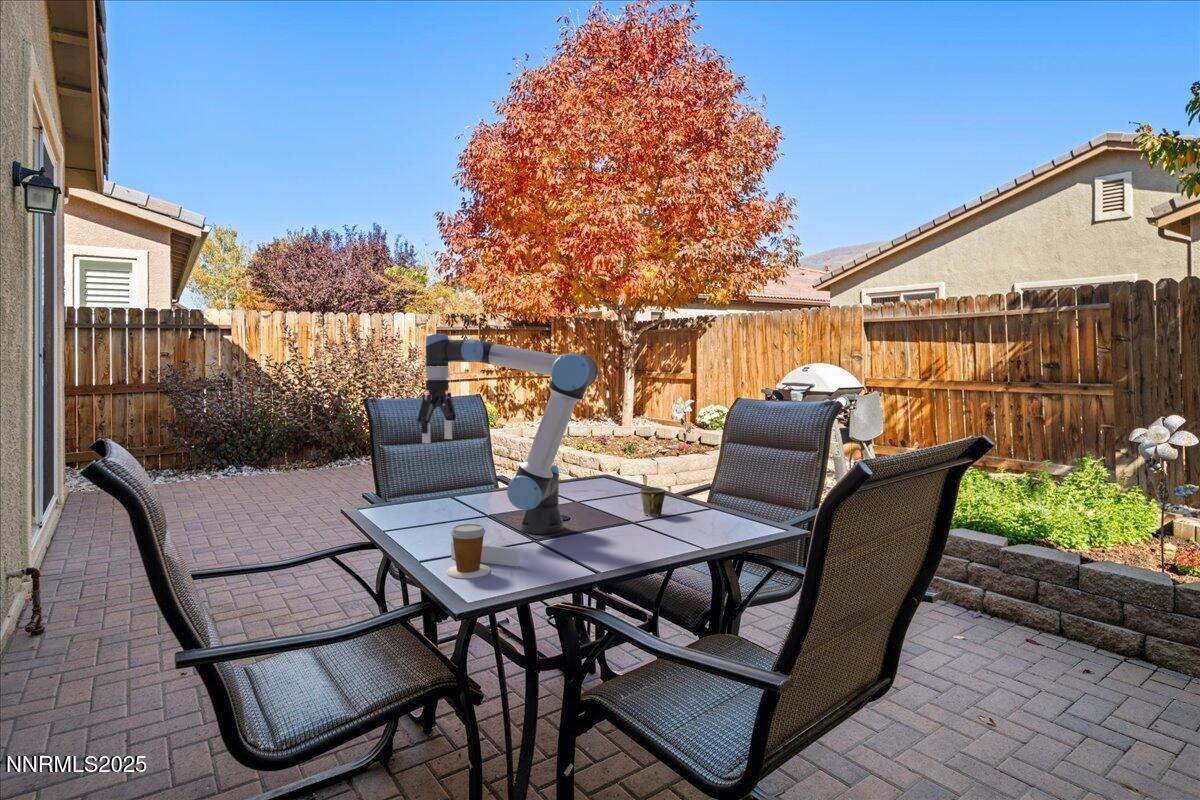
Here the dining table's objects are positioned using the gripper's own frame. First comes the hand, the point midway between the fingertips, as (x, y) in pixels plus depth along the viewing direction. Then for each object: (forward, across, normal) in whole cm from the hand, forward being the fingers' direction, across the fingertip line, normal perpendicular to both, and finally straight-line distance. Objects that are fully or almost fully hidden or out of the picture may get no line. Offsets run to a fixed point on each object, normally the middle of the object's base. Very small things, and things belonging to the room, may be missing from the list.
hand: (437, 441), depth 225 cm
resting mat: (+32, +34, +32) cm, 57 cm away
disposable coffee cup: (+31, +34, +32) cm, 56 cm away
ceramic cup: (+32, -50, +64) cm, 87 cm away
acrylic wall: (+32, +25, +32) cm, 51 cm away
